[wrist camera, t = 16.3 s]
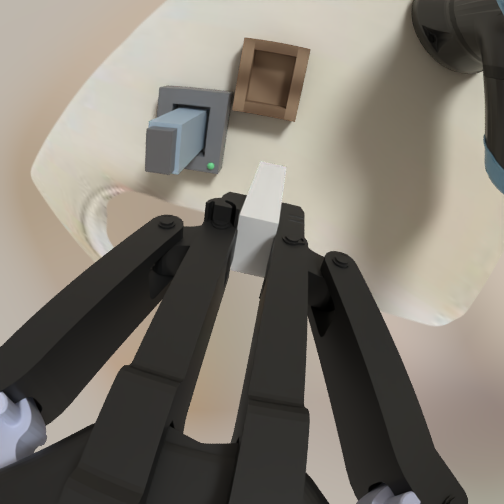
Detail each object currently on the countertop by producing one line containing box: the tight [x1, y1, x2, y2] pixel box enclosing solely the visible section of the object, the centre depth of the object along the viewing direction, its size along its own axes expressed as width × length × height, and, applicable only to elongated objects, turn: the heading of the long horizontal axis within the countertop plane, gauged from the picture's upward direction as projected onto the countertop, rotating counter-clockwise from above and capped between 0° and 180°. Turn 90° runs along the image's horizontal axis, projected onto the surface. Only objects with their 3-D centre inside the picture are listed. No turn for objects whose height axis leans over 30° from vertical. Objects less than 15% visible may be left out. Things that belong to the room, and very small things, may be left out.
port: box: [157, 86, 233, 174], centre depth 40 cm, size 12×10×3 cm
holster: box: [232, 38, 310, 122], centre depth 35 cm, size 10×8×3 cm
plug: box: [145, 106, 209, 175], centre depth 35 cm, size 6×4×14 cm, turn 171°
